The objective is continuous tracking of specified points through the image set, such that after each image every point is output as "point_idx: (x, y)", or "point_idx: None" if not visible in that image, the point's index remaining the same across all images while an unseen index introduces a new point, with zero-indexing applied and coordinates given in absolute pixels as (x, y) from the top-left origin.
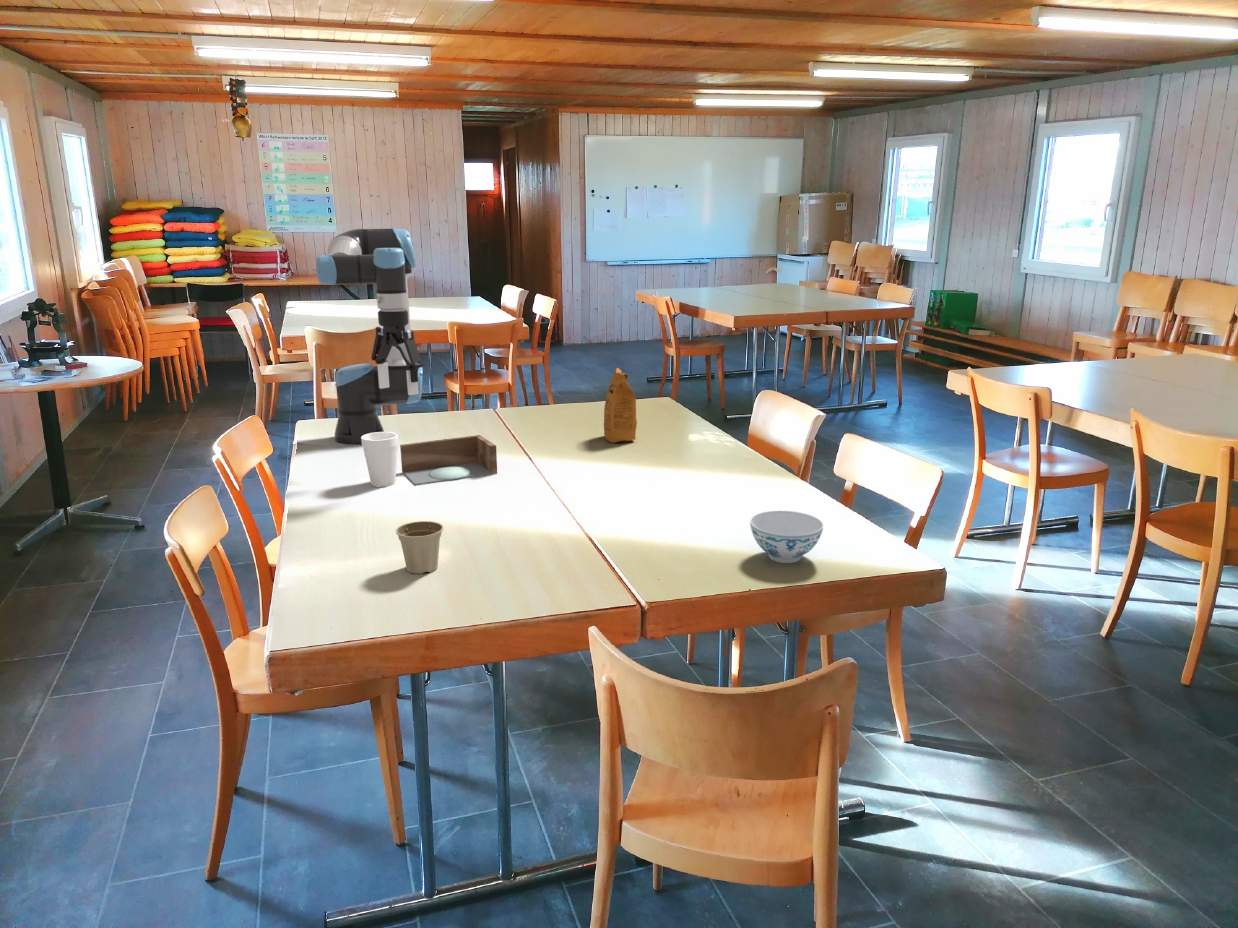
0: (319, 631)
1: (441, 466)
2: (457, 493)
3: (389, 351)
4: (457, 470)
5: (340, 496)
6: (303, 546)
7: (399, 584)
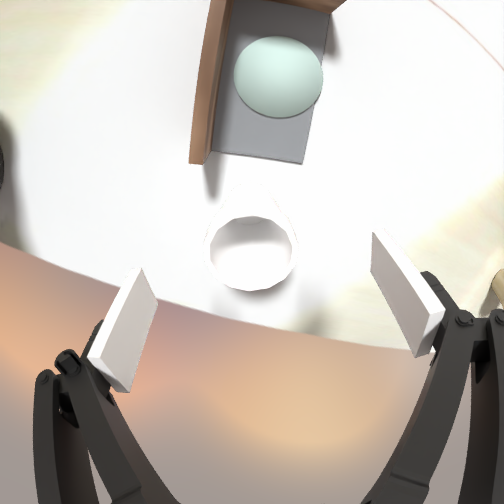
0: None
1: (221, 69)
2: (391, 129)
3: (117, 438)
4: (275, 56)
5: None
6: (398, 340)
7: None
